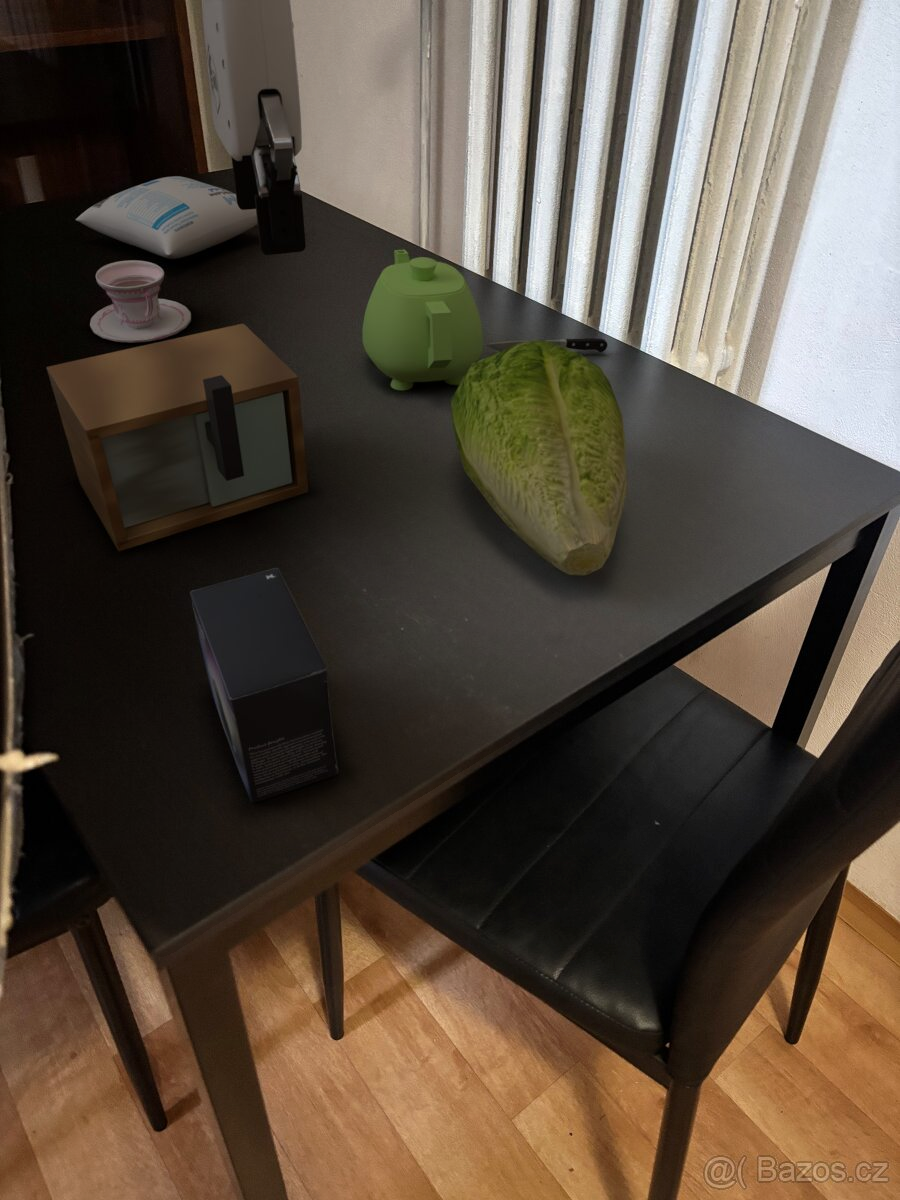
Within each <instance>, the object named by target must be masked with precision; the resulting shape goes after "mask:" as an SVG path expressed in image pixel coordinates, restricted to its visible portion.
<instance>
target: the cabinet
mask: <svg viewBox="0 0 900 1200" xmlns="http://www.w3.org/2000/svg"><path fill="white" fill-rule="evenodd" d="M46 371H47V374H48V378H49V381H50V385H51V389H52V392H53V395H54V398H55V402H56V405H57V409H58V412H59V416H60V420H61V423H62V426H63V430H64V433H65V436H66V440H67V443H68V447H69V451H70V454H71V458H72V461H73V463H74V466H75V467H74V468H75V471H76V475H77V478H78V481H79V485H80V487H81V488H82V490H83V491H84V493H85V495H86V496H87V498H88V500H89V502H90V504H91V506H92V508H93V509H94V511H95V513H96V514H97V516H98V518H99V519H100V522H101V523H102V525H103V527H104V529H105V530H106V532H107V534H108V537H110V539H111V541H112V543H113V544H114V546H115V548H116V549H117V551H118V552H121V551H125V550H128V549H131V548H134V547H138V546H141V545H144V544H147V543H150V542H154V541H157V540H161V539H164V538H166V537H170V536H174V535H176V534H180V533H183V532H185V531H188V530H189V531H190V530H192V529H195V528H198V527H201V526H205V525H209V524H211V523H215V522H218V521H220V520H224V519H227V518H230V517H234V516H237V515H240V514H243V513H246V512H250V511H253V510H255V509H259V508H263V507H266V506H268V505H271V504H275V503H279V502H281V501H285V500H287V499H291V498H294V497H297V496H301V495H304V494H307V493H309V482H308V472H307V471H308V470H307V460H306V459H307V458H306V448H305V439H304V427H303V416H302V415H303V414H302V406H301V394H300V382H299V376H298V375H297V374H296V373H295V372H294V371H293V370H292V369H291V368H290V367H289V366H288V365H287V364H286V363H285V362H284V361H283V360H282V359H281V358H280V357H279V356H278V355H276V353H275V352H274V351H273V350H272V349H270V348H269V347H268V346H267V345H266V344H265V342H263V341H262V339H260V338H259V337H258V335H256V334H255V332H253V331H252V330H251V329H250V328H249V327H248V325H246V324H245V323H240V324H239V323H238V324H235V325H230V326H225V327H222V328H217V329H211V330H207V331H202V332H199V333H194V334H190V335H184V336H181V337H176V338H171V339H165V340H162V341H158V342H157V341H156V342H153V343H148V344H144V345H139V346H135V347H130V348H125V349H121V350H117V351H112V352H108V353H104V354H99V355H95V356H89V357H86V358H81V359H76V360H71V361H67V362H63V363H57V364H54V365H49V366H46ZM220 375H222V376H223V377H224V378H225V379H226V380H227V381H228V382H229V384H230V385H231V388H232V395H233V401H234V403H238V402H242V401H246V400H250V399H254V398H258V397H261V396H265V395H269V394H273V393H277V392H281V391H282V392H283V398H284V407H285V417H286V427H287V436H288V446H289V455H290V465H291V475H292V483H289V484H286V485H283V486H280V487H276V488H273V489H270V490H266V491H263V492H260V493H257V494H253V495H250V496H247V497H244V498H240V499H237V500H234V501H231V502H227V503H224V504H221V505H217V506H214V507H212V505H211V504H210V499H209V493H208V487H207V482H206V476H205V471H204V465H203V459H202V454H201V448H200V443H199V437H198V431H197V426H196V420H195V415H194V414H196V413H200V412H204V411H207V410H208V407H207V401H206V395H205V389H204V383H203V379H207V378H211V377H216V376H220Z"/></svg>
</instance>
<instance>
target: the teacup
mask: <svg viewBox="0 0 900 1200" xmlns="http://www.w3.org/2000/svg"><path fill="white" fill-rule="evenodd" d="M95 279H96V280H95V281H96V283H97V285H98V286H99V287H101V289H103V290H104V291H105V293H106V295H107V296H108V297H109V298H110V299H111V302H112V303H111V304H109V305H107V306H104V307H103V308H102V309H100V310H98V311H96V312H95V313H94V314H93V315H92V317H91V318H90V320H89V321H90V322H89V328H90V329H91V331H92V333H93V334H94V335H97V336H98V337H100V338H102V339H105V340H108V341H112V342H117V343H127V344H129V343H130V344H131V343H133V344H135V343H136V344H137V343H148V342H154V341H159V340H163V339H166V338H169V337H172V336H174V335H177V334H178V333H181V332H182V331H183V330H185V329H187V327H188V326H189V325H190V323H191V322H192V313H191V311H190V310H189V308H188V307H187V306H185V305H183V304H182V303H180V302H177V301H174V300H169V299H166V298H159V296H158V295H159V293H160V292H161V290H162V288H161V284H162V283H163V281H164V279H165V271H164V269H163V268H162V267H161V266H159V265H158V264H157V263H153V262H150V261H145V260H136V259H134V260H133V259H131V260H129V259H128V260H120V261H115V262H111V263H108V264H105V265H103V266H102V267H100V268H99V269H98V270H97V271H96V273H95Z"/></svg>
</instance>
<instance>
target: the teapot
mask: <svg viewBox="0 0 900 1200" xmlns="http://www.w3.org/2000/svg"><path fill="white" fill-rule="evenodd" d="M393 254H394V264H391V265H388V266H387V267H385V268H383V270H382V271H381V273H380V275H379V277H378V278H377V280H376V282H375V285H374V287H373V290H372V292H371V293H370V296H369V299H368V302H367V305H366V309H365V311H364V317H363V322H362V331H361V332H362V333H361V334H362V336H361V337H362V345H363V347H364V351H365V352H366V354H367V356H368V357H369V359H370V361H372V363H373V364H374V365H375V366H376V367H377V369H378V370H379V371H380V372H382V373H383V374H384V375H385V376H387V377H389V378H391V379H392V380H391V382H390V387H391V388H392V389H394V390H395V391H396V390H397V391H408V390H410V389H412V388H413V387H414V383H427V382H438V381H444V383H446V384H447V385H452V386H459V385H460V383H461V381H462V379H463V378H464V376H465V374H466V373H467V371H468V369H469V368H470V366H471V364H472V363H474V362H477V361H479V360H480V358H481V356H482V353H483V349H484V335H483V326H482V319H481V315H480V312H479V308H478V306H477V303H476V300H475V298H474V296H473V294H472V291H471V289H470V287H469V285H468V283H467V281H466V279H465V277H464V276H463V274H462V273H461V272H460V271H459V270H458V269H456V267H454V266H452V265H450V264H448V263H445V262H442V261H437V260H436V259H433V258H430V257H426V256H419V257H415V258H410V256H409V252H408V251H407V250H406V249H394V253H393Z"/></svg>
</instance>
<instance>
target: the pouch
mask: <svg viewBox="0 0 900 1200" xmlns="http://www.w3.org/2000/svg"><path fill="white" fill-rule="evenodd" d="M75 221H76V222H79V223H81V224H82V225H84V226H86V227H88V228H90V229H91V230H93V231H96V232H98V233H100V234H102V235H105V236H106V237H109V238H111V239H114V240H117V241H120V242H122V243H125V244H126V245H130V246H132V245H133V247H135V246H136V247H135V248H138V247H139V249H142V250H144V251H146V252H149V253H152V254H153V255H157V256H159V257H162V258H165V259H169V260H177V259H178V260H179V259H182V258H185V257H186V258H187V257H189V256H193V255H196V254H198V253H201V252H202V251H205V250H208V249H210V248H213V247H215V246H218V245H220V244H222V243H225V242H227V241H230V240H231V239H234V238H236V237H238V236H239V235H241V234H243V233H245V232H247V231H249V230H250V229H252V228H254V227H256V226H258V223H257V214H256V209H248V210H242V209H240V208H239V207H238V205H237V199H236V192H235V193H234V192H232V191H229V190H227V189H224V188H222V187H218V186H215V185H211V184H208V183H205V182H202V181H199V180H195V179H192V178H189V177H185V176H180V175H179V176H178V175H175V176H174V175H173V176H166V177H165V176H164V177H160V178H157V179H154V180H153V179H152V180H150V181H148V182H144V183H141V184H138V185H135V186H132V187H130V188H128V189H125V190H121V191H119V192H118V193H115V194H113V195H111V196H109V197H106V198H104V199H102V200H101V201H98V202H96V203H95V204H93V205H92V206H90V207H89V208H87V209H86V210H85V211H84V212H82V213H81V214H80V215H79V216H77V218H75ZM212 246H213V247H212ZM207 248H208V249H207Z"/></svg>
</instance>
